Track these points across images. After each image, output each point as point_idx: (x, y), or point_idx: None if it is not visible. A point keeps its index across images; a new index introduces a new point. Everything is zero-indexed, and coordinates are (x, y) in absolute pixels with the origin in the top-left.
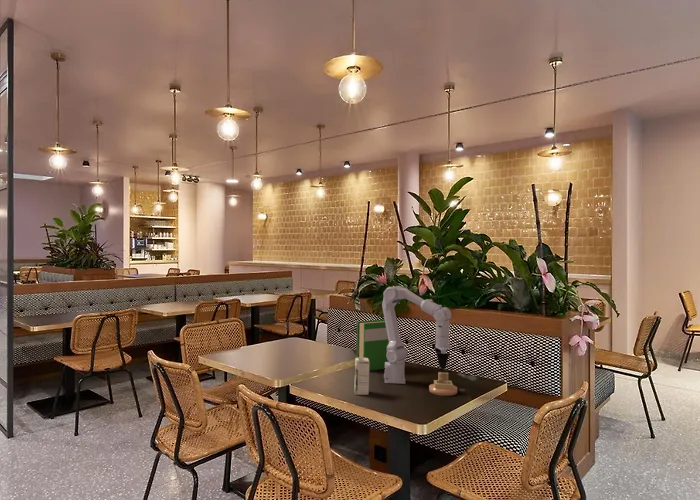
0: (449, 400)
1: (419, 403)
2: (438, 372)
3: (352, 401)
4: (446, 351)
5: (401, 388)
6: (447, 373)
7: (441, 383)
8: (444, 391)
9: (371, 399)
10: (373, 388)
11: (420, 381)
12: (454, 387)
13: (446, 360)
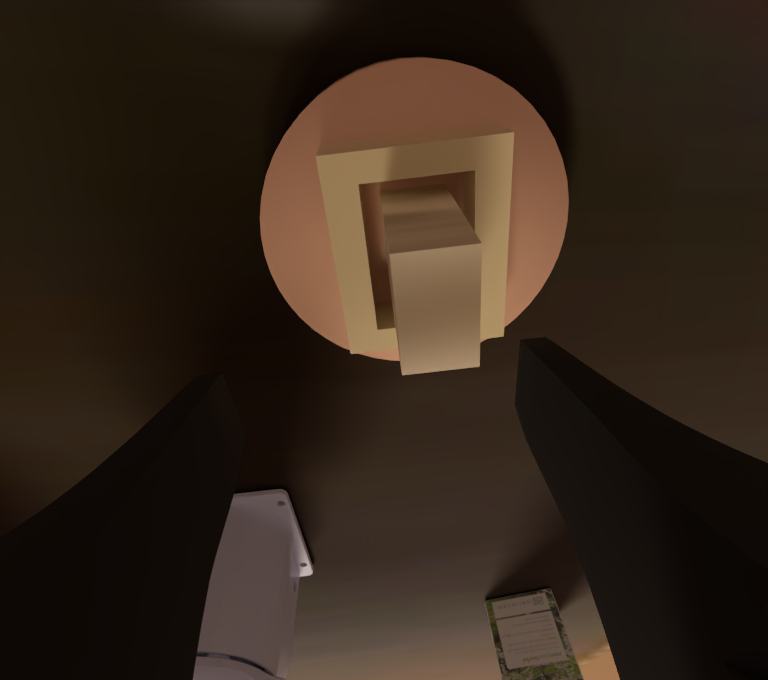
0: (695, 155)
1: (732, 376)
2: (410, 373)
3: None
4: (37, 611)
5: (396, 491)
6: (449, 257)
7: None
8: (565, 220)
9: None
10: (431, 587)
11: (152, 410)
12: (408, 100)
13: (697, 445)
